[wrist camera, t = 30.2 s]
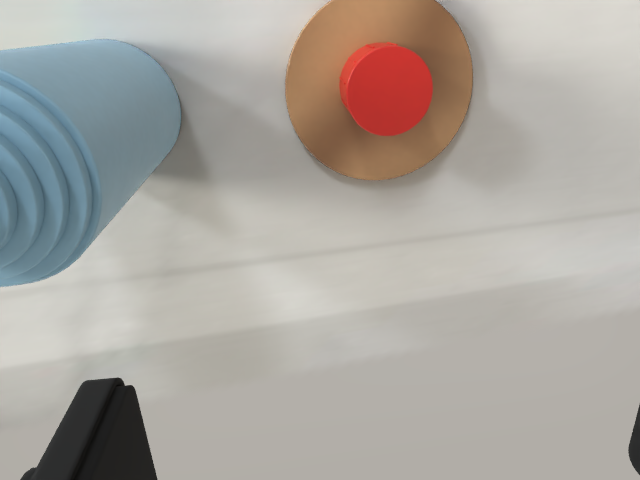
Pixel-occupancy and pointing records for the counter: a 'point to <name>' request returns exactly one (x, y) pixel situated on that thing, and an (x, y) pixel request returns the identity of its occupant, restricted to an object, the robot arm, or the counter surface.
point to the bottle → (75, 147)
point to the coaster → (323, 82)
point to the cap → (386, 88)
